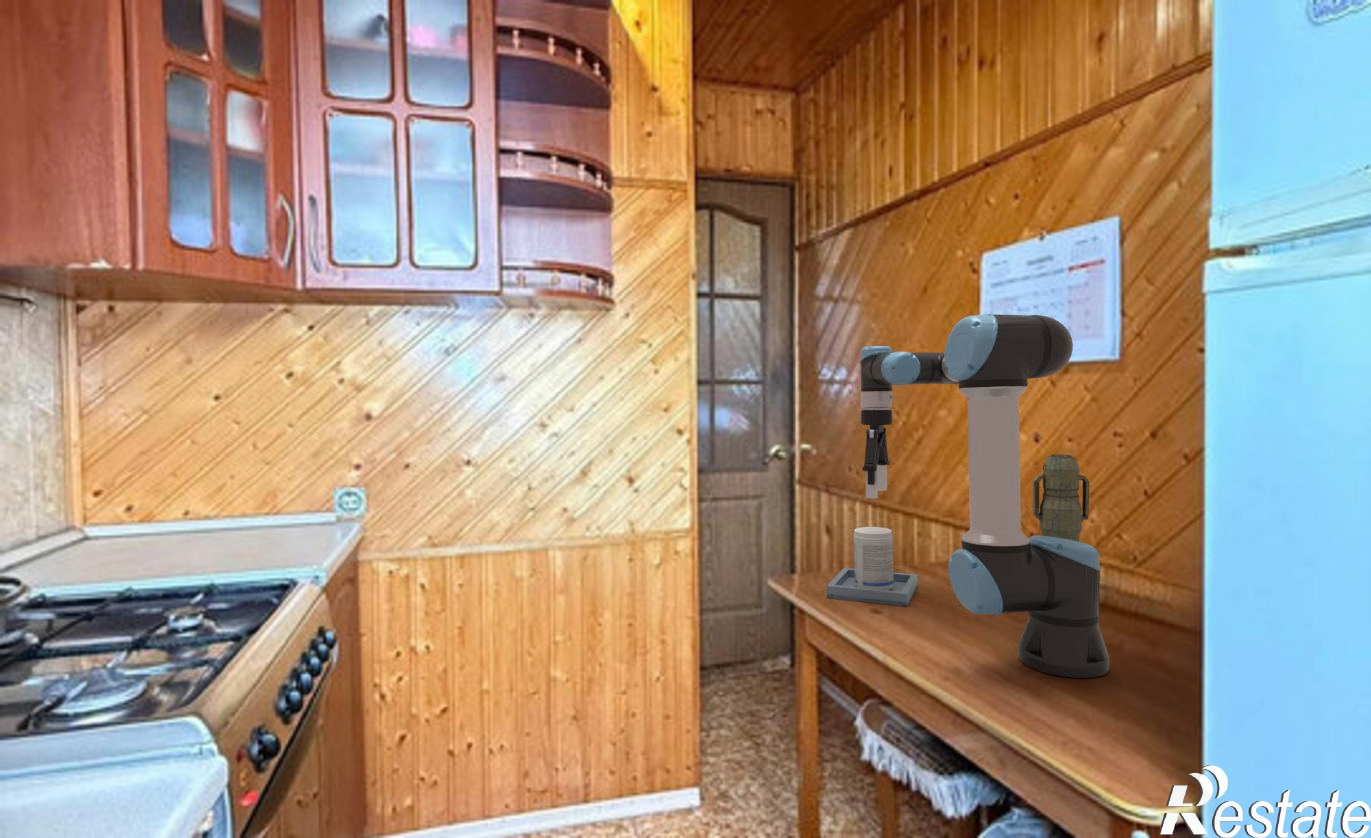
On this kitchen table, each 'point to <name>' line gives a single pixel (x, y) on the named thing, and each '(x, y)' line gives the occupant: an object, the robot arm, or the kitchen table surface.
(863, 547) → the supplement tub
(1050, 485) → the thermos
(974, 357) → the robot arm
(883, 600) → the tray
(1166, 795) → the kitchen table surface
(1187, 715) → the kitchen table surface
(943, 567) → the kitchen table surface
